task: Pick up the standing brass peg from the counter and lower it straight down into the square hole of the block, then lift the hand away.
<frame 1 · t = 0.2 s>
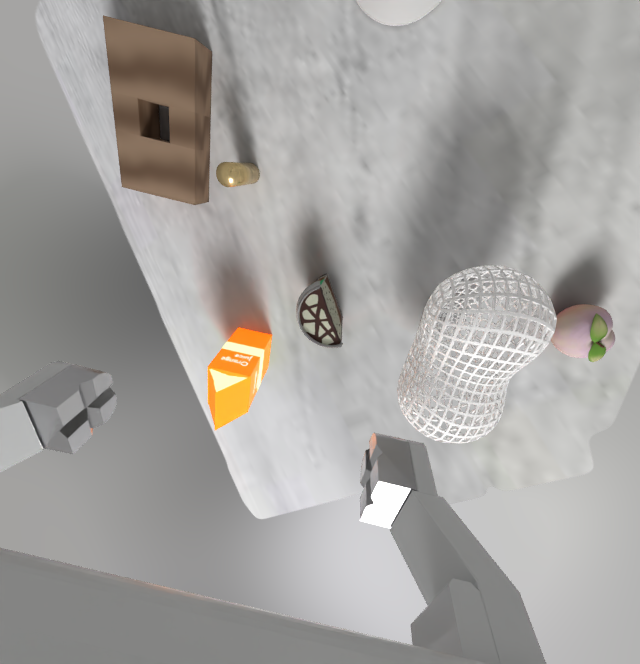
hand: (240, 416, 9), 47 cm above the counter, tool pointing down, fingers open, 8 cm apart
peg: (250, 173, 49), on the counter
food container: (320, 299, 58), on the counter
orange juice: (254, 347, 66), on the counter
hole block: (173, 125, 47), on the counter
decorative fruit: (561, 318, 55), on the counter
heart: (440, 314, 57), on the counter
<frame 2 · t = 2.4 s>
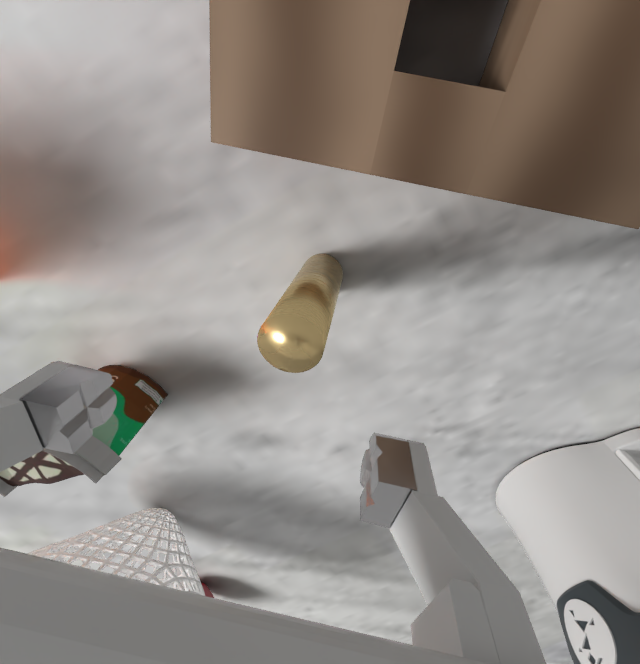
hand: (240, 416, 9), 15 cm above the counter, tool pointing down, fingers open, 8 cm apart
peg: (322, 274, 22), on the counter
food container: (117, 379, 31), on the counter
hole block: (444, 49, 15), on the counter
heart: (165, 508, 42), on the counter
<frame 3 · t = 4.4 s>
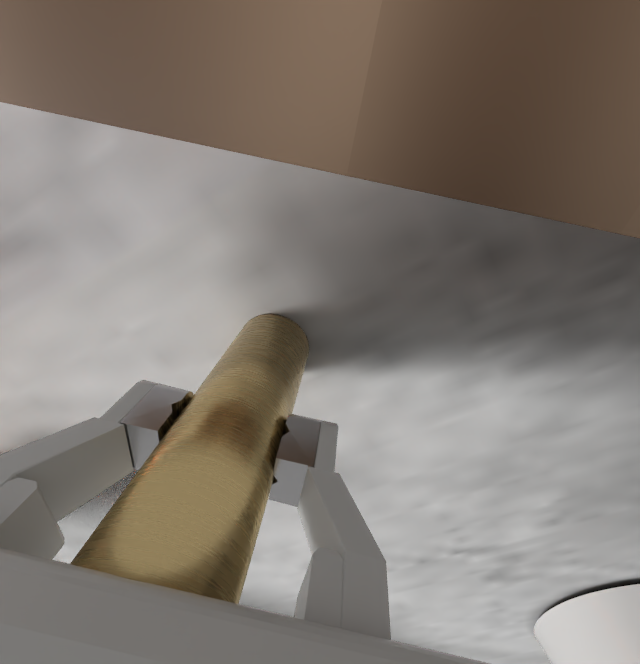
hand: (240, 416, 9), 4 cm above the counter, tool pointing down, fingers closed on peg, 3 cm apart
peg: (274, 345, 13), on the counter, touching gripper
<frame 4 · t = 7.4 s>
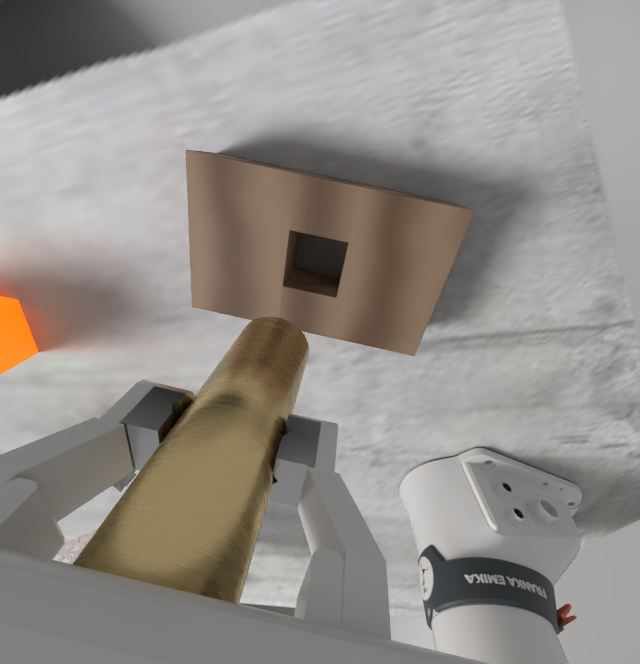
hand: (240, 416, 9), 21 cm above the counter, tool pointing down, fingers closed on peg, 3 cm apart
peg: (274, 347, 13), point 17 cm above the counter, touching gripper
hole block: (321, 249, 27), on the counter
heart: (162, 509, 54), on the counter
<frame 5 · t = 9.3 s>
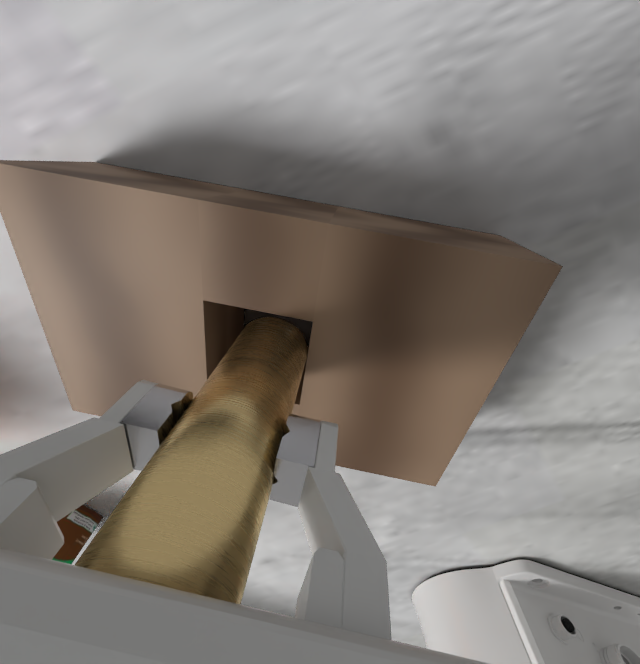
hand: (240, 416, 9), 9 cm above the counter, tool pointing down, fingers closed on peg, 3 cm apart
peg: (273, 348, 13), point 5 cm above the counter, touching gripper
food container: (55, 503, 33), on the counter
hole block: (282, 309, 17), on the counter
when the fingers open (7 cm above the counter, at t = 10.5 s): peg drops 2 cm, resting in hole block.
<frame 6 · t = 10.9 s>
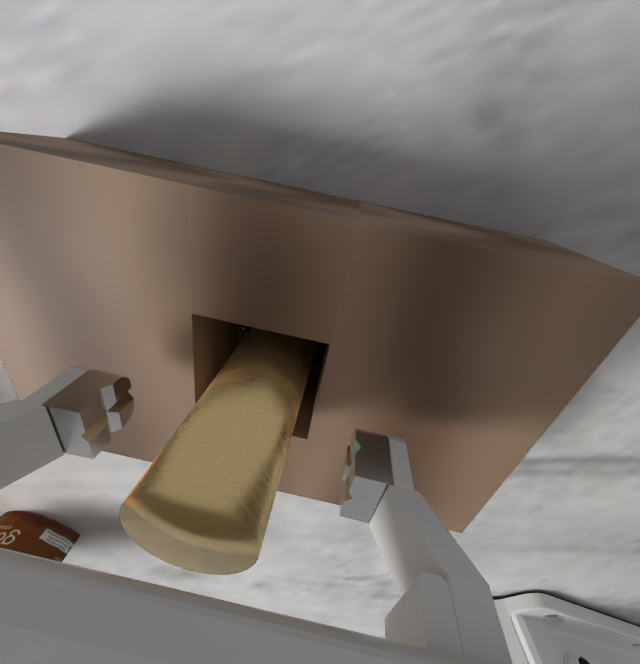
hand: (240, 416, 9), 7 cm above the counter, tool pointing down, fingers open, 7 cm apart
peg: (291, 323, 15), resting in hole block
food container: (27, 520, 30), on the counter
hole block: (286, 319, 15), on the counter
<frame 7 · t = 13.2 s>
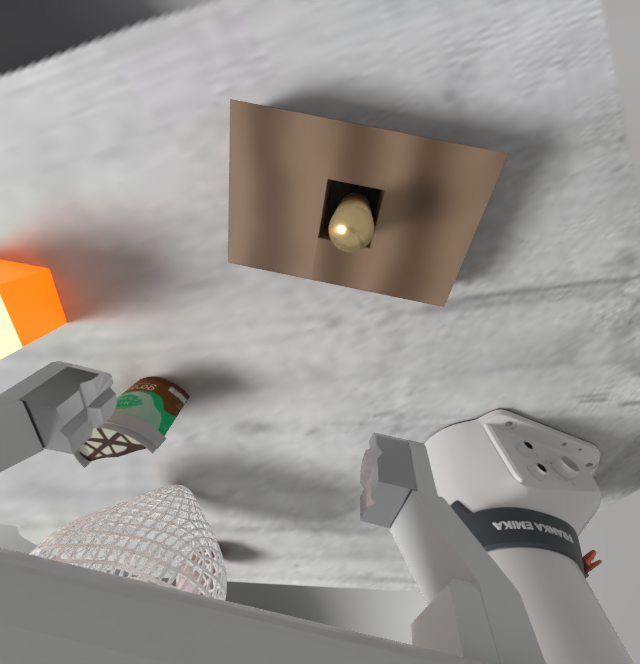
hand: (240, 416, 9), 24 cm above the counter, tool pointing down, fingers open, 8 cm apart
peg: (354, 210, 28), resting in hole block
food container: (152, 387, 43), on the counter
orange juice: (27, 290, 38), on the counter
hole block: (351, 207, 28), on the counter
decorative fruit: (210, 546, 65), on the counter
heart: (182, 485, 55), on the counter
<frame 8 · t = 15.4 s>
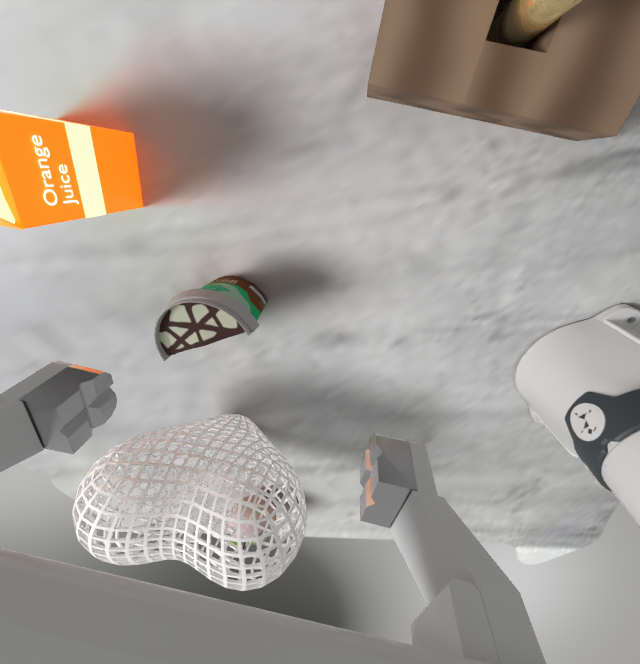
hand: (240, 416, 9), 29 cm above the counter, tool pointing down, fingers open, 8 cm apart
peg: (505, 35, 25), resting in hole block
food container: (227, 290, 40), on the counter
orange juice: (103, 165, 34), on the counter
hole block: (502, 32, 25), on the counter
decorative fruit: (259, 493, 61), on the counter
heart: (240, 416, 51), on the counter
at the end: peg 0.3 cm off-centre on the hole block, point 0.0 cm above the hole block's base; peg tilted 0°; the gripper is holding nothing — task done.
